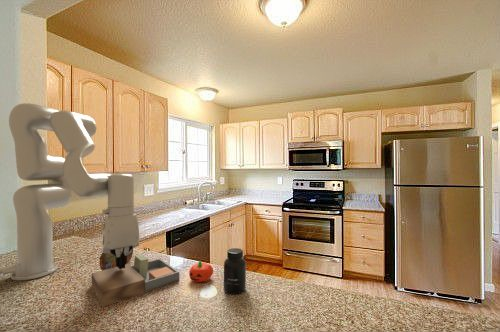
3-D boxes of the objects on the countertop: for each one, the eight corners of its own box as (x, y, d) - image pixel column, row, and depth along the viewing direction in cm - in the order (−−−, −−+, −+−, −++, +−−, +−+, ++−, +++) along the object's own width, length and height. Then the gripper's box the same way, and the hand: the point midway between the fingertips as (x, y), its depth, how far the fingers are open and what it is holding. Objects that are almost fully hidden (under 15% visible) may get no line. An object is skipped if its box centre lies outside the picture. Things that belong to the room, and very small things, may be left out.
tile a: (174, 272, 80) (174, 279, 80) (166, 266, 84) (166, 273, 84) (155, 277, 76) (155, 285, 76) (148, 271, 80) (148, 279, 80)
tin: (105, 276, 84) (105, 251, 84) (97, 275, 85) (97, 251, 85) (133, 259, 99) (133, 239, 99) (127, 259, 100) (127, 238, 100)
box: (145, 292, 73) (145, 282, 73) (129, 275, 85) (129, 266, 85) (179, 280, 80) (179, 271, 80) (160, 266, 92) (160, 258, 92)
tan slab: (102, 306, 65) (102, 292, 65) (91, 285, 77) (91, 273, 77) (144, 292, 73) (144, 279, 73) (128, 275, 85) (128, 263, 85)
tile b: (140, 260, 80) (148, 259, 82) (134, 255, 85) (142, 254, 86) (138, 278, 80) (146, 277, 82) (133, 273, 84) (140, 271, 86)
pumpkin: (214, 283, 79) (215, 265, 79) (189, 287, 77) (189, 268, 76) (211, 272, 86) (211, 254, 85) (188, 275, 84) (188, 257, 83)
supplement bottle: (228, 297, 70) (228, 256, 70) (220, 287, 76) (220, 248, 76) (249, 291, 73) (249, 252, 73) (240, 282, 79) (240, 245, 79)
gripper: (96, 216, 72) (96, 278, 71) (148, 210, 82) (148, 264, 81) (92, 213, 77) (92, 270, 77) (141, 207, 87) (141, 258, 87)
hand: (121, 267), depth 79 cm, fingers closed
